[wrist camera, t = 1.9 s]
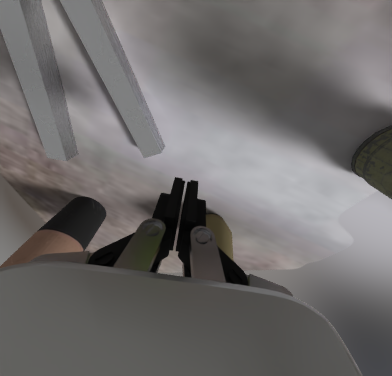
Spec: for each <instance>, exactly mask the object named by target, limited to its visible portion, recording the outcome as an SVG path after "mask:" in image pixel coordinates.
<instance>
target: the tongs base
mask: <svg viewBox="0 0 392 376" xmlns="http://www.w3.org/2000/svg"><path fill="white" fill-rule="evenodd" d="M0 30H1V32H2V35H3V38H4V40H5V43H6V46H7V49H8V51H9V54H10V57H11V60H12V62H13V65H14V68H15V70H16V73H17V76H18V79H19V81H20V84H21V87H22V90H23V92H24V95H25V98H26V100H27V103H28V106H29V109H30V111H31V114H32V117H33V119H34V122H35V125H36V128H37V130H38V133H39V136H40V139H41V141H42V144H43V147H44V149H45V152H46V155H47V158H52V159H57V160H63V161H68V160H70V159H71V158H73V157H74V156H76V155H78V150H77V146H76V142H75V138H74V133H73V129H72V125H71V121H70V117H69V113H68V109H67V105H66V101H65V97H64V92H63V88H62V84H61V80H60V76H59V72H58V68H57V64H56V60H55V56H54V51H53V47H52V43H51V39H50V35H49V31H48V27H47V23H46V19H45V15H44V10H43V6H42V2H41V0H0Z"/></svg>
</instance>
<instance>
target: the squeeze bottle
mask: <svg viewBox="0 0 392 376" xmlns="http://www.w3.org/2000/svg"><path fill="white" fill-rule="evenodd" d="M206 227H207V228H209V229H210V230H211V231H212V232H213V233H214V235H215V239H216V243H217V246H218V247H219V248H220V249H221V250H222V251H223V252H224V253H225V254H226V255H227V256H229V257H230V258H231V259H232V260H233V245H232V232H231V231H230V229H229V227H228V226H227V224H226V223H225V221H224V220H223V218H222V217H220V216H218V215H215V214H207V215H206Z"/></svg>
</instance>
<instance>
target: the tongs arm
mask: <svg viewBox="0 0 392 376" xmlns="http://www.w3.org/2000/svg"><path fill="white" fill-rule="evenodd" d="M60 2H61V4H62V6H63V7H64V9H65V11H66V13H67V15H68V17H69V19H70V20H71V22H72V24H73V26H74V28H75V30H76V32H77V34H78V35H79V37H80V39H81V41H82V43H83V45H84V47H85V49H86V50H87V52H88V54H89V56H90V58H91V60H92V62H93V63H94V65H95V67H96V69H97V71H98V73H99V75H100V77H101V78H102V80H103V82H104V84H105V86H106V88H107V90H108V92H109V93H110V95H111V97H112V99H113V101H114V103H115V105H116V106H117V108H118V110H119V112H120V114H121V116H122V118H123V120H124V121H125V123H126V125H127V127H128V129H129V131H130V133H131V135H132V136H133V138H134V140H135V142H136V144H137V146H138V148H139V149H140V151H141V153H142V155H143V157H144V158H146V157H150V156H153V155H156V154H160V153H162V151H163V149H164V147H165V144H164V142H163V140H162V138H161V135H160V133H159V131H158V128H157V126H156V124H155V122H154V119H153V117H152V115H151V112H150V110H149V108H148V105H147V103H146V101H145V99H144V96H143V94H142V92H141V89H140V87H139V85H138V83H137V80H136V78H135V76H134V73H133V71H132V69H131V67H130V64H129V62H128V60H127V57H126V55H125V53H124V51H123V48H122V46H121V44H120V41H119V39H118V37H117V35H116V32H115V30H114V28H113V25H112V23H111V21H110V18H109V16H108V14H107V12H106V9H105V7H104V5H103V2H102V0H60Z"/></svg>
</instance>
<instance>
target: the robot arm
mask: <svg viewBox="0 0 392 376" xmlns="http://www.w3.org/2000/svg"><path fill="white" fill-rule="evenodd" d="M184 184H185V181H182V178H176V177H175V180H174V183H173V187H172V190H171V194H166V193H161V195H160V197H159V200H158V203H157V206H156V208H155V211H154V214H153V217H152V219H147V220H145V221H143V222H142V223H141V224H140V226H139V227H138V229H137V230H136V232H135V233H133V234H131V235H129V236H127V237H124V238H122V239H120V240H118V241H116V242H114V243H112V244H110V245H107V246H105V247H103V248H101V249H99V250H97V251H96V252H94V253H90V252H89V251H82V252H66V253H51V254H44V255H40V256H38V257H35V258H34V259H32V260H31V261H29V262H28V263H22V264H16V265H11V266H7V267H3V268H0V376H362V374H361V372H360V370H359V368H358V367H357V365H356V363H355V361H354V359H353V358H352V356H351V354H350V352H349V351H348V349H347V347H346V346H345V344H344V342H343V341H342V339H341V338H340V336H339V334H338V333H337V331H336V330H335V329H334V327H333V326H332V324H331V323H330V322H329V321H328V320H327V319H326V318H325V317H324V316H323V315H322V314H321V313H320V312H318V311H317V310H316V309H314V308H312V307H311V306H310V305H308V304H306V303H304V302H303V301H301V300H299V299H297V298H295V297H293V295H292V294H291V292H290V291H288V290H287V289H286V288H285V287H283V286H280V285H278V284H275V283H273V282H270V281H267V280H265V279H262V278H259V277H257V276H254V275H252V274H250V275H246V274H245V273H244V271H243V270H242V269H241V268H240V267H239V266H238V265H237V264H236V263H235V262H234V261H233V260H232V259H231V258H230V257H229V256H227V255H226V254H225V253H224V252H223V251H222V250H221V249H220V248H219V247H218V246H217V243H216V239H215V235H214V233H213V232H212V231H211V230H210V229H209V228H207V227H206V201H205V200H200V199H197V194H198V181H193V180H191V182H187V188H186V193H185V198H184V203H183V208H182V214H181V220H180V227H179V233H178V239H177V245H176V251H179V253H178V257H179V259H180V260H181V261H182V262H183V265H182V269H183V277H182V276H181V277H180V276H174V275H167V274H160V273H157V272H158V270H159V267H160V265H161V261H162V259H164V258H166V257H167V256H168V255H169V250H173V246H174V240H175V235H176V229H177V224H178V218H179V212H180V207H181V201H182V195H183V190H184Z"/></svg>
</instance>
